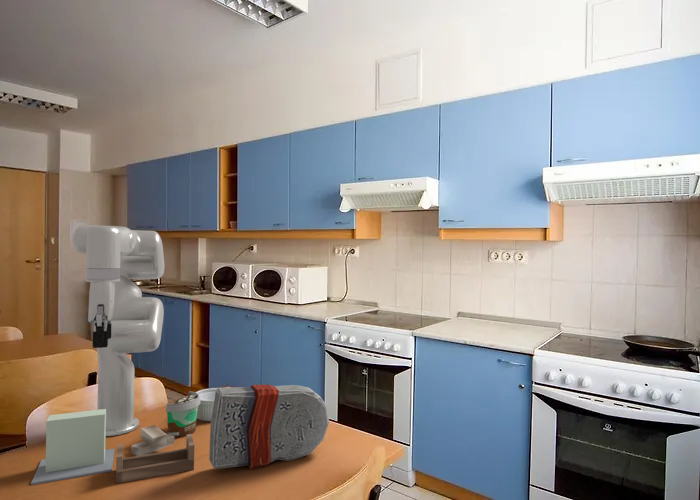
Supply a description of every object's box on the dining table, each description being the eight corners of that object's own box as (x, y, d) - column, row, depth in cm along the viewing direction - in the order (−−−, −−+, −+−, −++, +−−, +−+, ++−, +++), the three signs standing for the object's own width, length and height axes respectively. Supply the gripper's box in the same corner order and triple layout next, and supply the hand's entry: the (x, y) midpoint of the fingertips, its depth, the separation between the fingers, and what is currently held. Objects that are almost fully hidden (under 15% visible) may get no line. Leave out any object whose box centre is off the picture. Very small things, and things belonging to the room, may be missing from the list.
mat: (41, 461, 111) (41, 459, 111) (114, 450, 118) (114, 448, 118) (31, 484, 100) (31, 482, 100) (112, 471, 107) (112, 469, 107)
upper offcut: (152, 447, 116) (152, 438, 116) (140, 437, 122) (141, 428, 122) (166, 444, 118) (166, 434, 118) (154, 434, 124) (154, 425, 124)
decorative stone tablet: (219, 392, 105) (334, 388, 119) (214, 384, 111) (324, 381, 124) (210, 476, 104) (327, 462, 118) (205, 464, 110) (317, 451, 124)
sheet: (48, 464, 109) (49, 415, 109) (105, 456, 114) (106, 408, 114) (45, 472, 105) (46, 421, 105) (103, 463, 110) (104, 414, 110)
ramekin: (197, 408, 150) (197, 387, 150) (237, 407, 152) (238, 387, 151) (187, 423, 137) (187, 401, 137) (231, 423, 138) (232, 400, 138)
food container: (185, 442, 124) (185, 406, 124) (165, 440, 125) (165, 404, 125) (207, 425, 136) (208, 392, 136) (189, 423, 137) (190, 390, 137)
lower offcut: (131, 455, 117) (131, 445, 117) (165, 441, 125) (165, 432, 125) (140, 459, 115) (140, 449, 115) (174, 445, 123) (174, 436, 123)
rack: (117, 469, 108) (117, 444, 108) (190, 457, 115) (191, 433, 115) (115, 483, 102) (116, 457, 102) (193, 469, 109) (194, 444, 109)
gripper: (90, 272, 119) (89, 336, 120) (81, 278, 103) (79, 352, 104) (122, 272, 122) (121, 335, 123) (117, 278, 106) (116, 350, 107)
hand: (102, 342), depth 113 cm, fingers open, 9 cm apart
